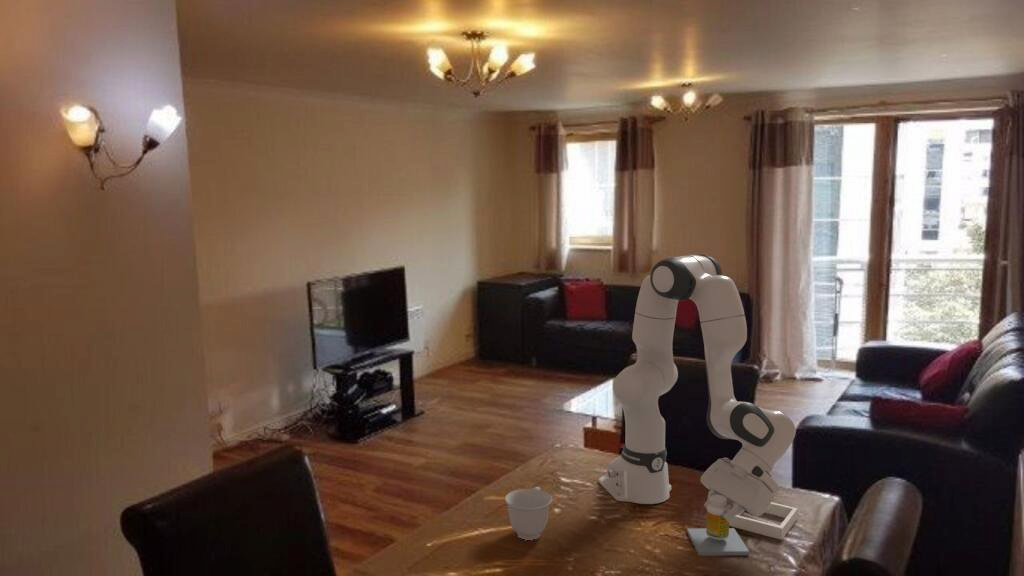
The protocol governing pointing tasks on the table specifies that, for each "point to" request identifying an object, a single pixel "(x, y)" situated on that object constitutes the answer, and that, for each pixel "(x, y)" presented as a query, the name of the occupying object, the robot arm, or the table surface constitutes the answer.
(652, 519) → the table surface
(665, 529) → the table surface
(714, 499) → the supplement bottle
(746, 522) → the bin
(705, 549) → the pad
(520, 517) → the teacup
